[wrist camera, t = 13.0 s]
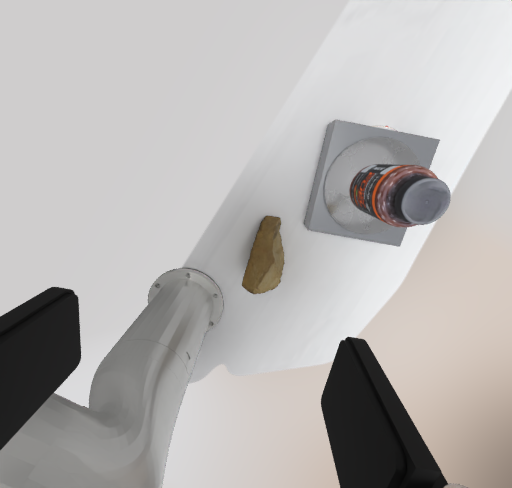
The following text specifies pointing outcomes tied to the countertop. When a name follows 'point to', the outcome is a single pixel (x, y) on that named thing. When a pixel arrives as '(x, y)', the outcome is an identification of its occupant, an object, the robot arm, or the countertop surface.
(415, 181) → the supplement bottle
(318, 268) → the countertop surface
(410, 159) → the scale pan
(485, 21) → the countertop surface
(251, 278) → the rock
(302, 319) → the countertop surface
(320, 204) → the scale base
